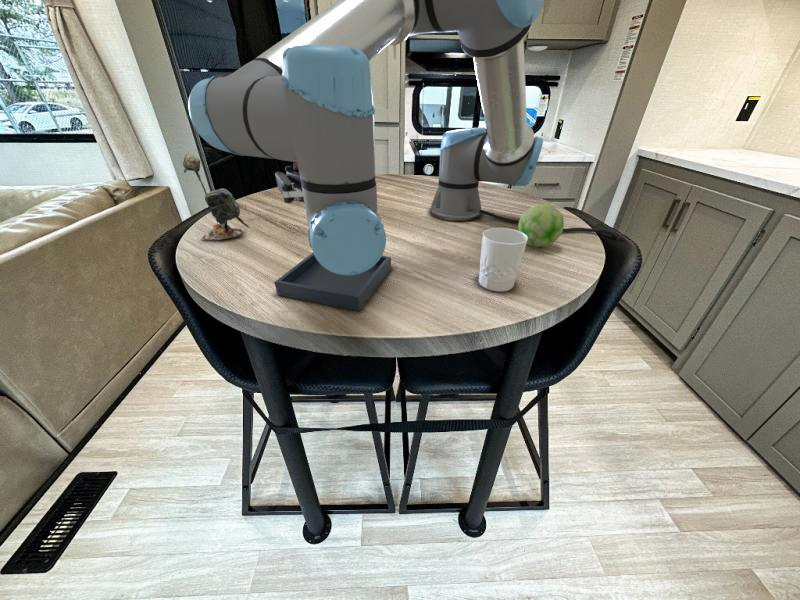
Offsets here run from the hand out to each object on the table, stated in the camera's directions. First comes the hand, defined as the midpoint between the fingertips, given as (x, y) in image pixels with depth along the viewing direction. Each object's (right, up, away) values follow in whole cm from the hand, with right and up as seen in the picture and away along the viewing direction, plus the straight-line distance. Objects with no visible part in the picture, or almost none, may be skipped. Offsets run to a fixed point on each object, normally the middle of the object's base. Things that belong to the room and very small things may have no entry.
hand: (322, 168), depth 61 cm
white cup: (+34, -22, +2) cm, 40 cm away
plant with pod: (-30, -9, +22) cm, 38 cm away
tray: (+3, -21, +3) cm, 22 cm away
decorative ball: (+48, -12, +18) cm, 53 cm away
